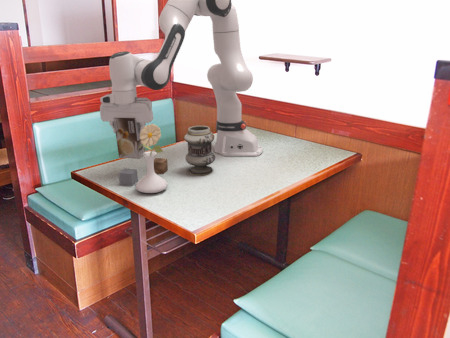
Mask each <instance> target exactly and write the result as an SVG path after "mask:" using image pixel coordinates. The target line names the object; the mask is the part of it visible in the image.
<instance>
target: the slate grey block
mask: <svg viewBox="0 0 450 338" xmlns="http://www.w3.org/2000/svg"><path fill="white" fill-rule="evenodd" d="M118 179H119V186H123V187H125V186H127V187H133V186H136V184H137V183H138V181H139V179H138V169H137V168H125V167H124V168H123V169H122V170H120V171H119V172H118Z"/></svg>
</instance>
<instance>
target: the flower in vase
mask: <svg viewBox="0 0 450 338" xmlns="http://www.w3.org/2000/svg"><path fill="white" fill-rule="evenodd" d="M141 131H142V132H141V133H140V139H141V143H142V144H143V146H144V147H145V149H148V151H145V152H144V153H143V154H142V155H143V157H144V159H145V162H146V166H147V167H146V168H147V171H146V172H147V173H146V174H145V175H143V176H142V177H141V178H140V179H138V182H137V183H136V184H135V188H136V190H137V191H138V192H140V193H146V194H155V193H160V192H162V191H164V190H166V189H167V188H168V185H169V184H168V182H167V180H166V179H165V178H164V177H162V176H160V175H159V174H156V173H155V172H154V159H155V158H156V156H157V154H159V153H164V150H163V149H162V147H161V146H160V145H159V144H158V145H157V143H158V141H160V139H161V137H162V134H161V133H162V131H161V128H160V127H159V126H158V125H156V124H154V123H151V124H150V123H147V124H146V125H145V126H144V128H143V129H142V130H141ZM152 146H153V147H152ZM151 147H152V148H151Z"/></svg>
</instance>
